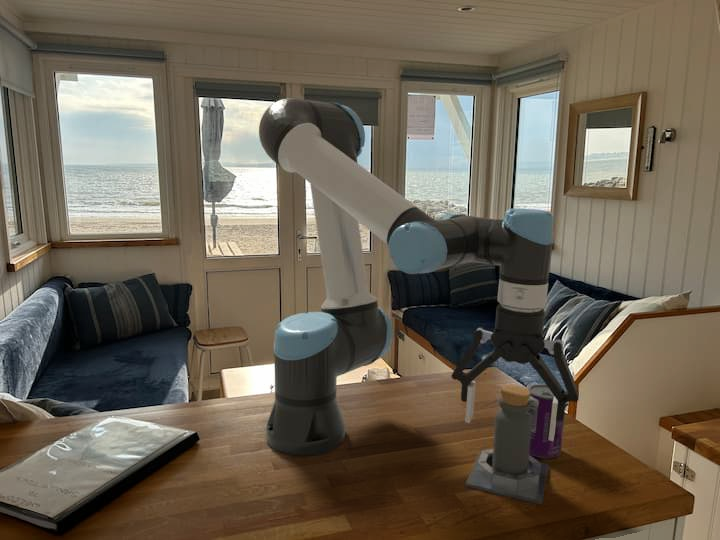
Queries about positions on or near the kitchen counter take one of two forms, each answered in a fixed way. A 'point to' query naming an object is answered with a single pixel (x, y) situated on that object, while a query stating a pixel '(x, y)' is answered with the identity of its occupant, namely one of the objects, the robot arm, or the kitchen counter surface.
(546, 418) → the beverage can
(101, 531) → the kitchen counter surface
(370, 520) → the kitchen counter surface
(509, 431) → the bottle
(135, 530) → the kitchen counter surface
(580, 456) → the kitchen counter surface
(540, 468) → the ring seat
